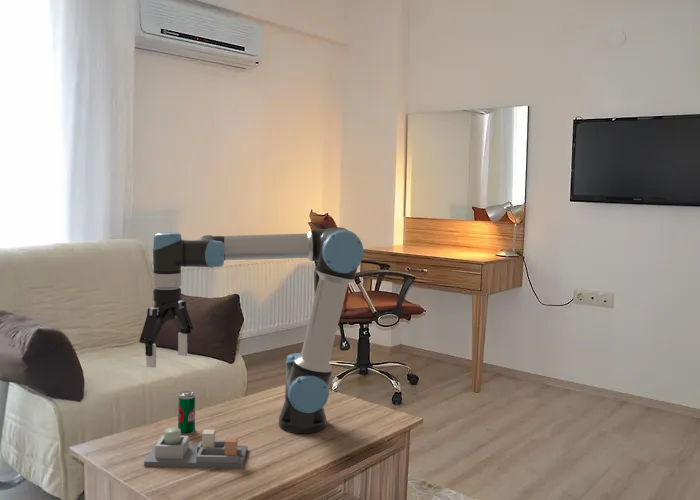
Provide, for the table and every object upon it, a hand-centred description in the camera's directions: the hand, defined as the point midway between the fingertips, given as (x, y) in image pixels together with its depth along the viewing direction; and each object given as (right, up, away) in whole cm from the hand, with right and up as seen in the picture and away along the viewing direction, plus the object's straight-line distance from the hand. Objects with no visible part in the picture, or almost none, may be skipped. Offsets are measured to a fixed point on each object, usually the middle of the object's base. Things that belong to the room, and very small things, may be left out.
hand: (167, 360), depth 182 cm
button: (+3, -21, -6) cm, 22 cm away
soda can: (+2, -24, +12) cm, 27 cm away
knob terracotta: (+20, -25, -8) cm, 33 cm away
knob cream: (+12, -24, -3) cm, 27 cm away
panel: (+10, -26, -6) cm, 28 cm away
